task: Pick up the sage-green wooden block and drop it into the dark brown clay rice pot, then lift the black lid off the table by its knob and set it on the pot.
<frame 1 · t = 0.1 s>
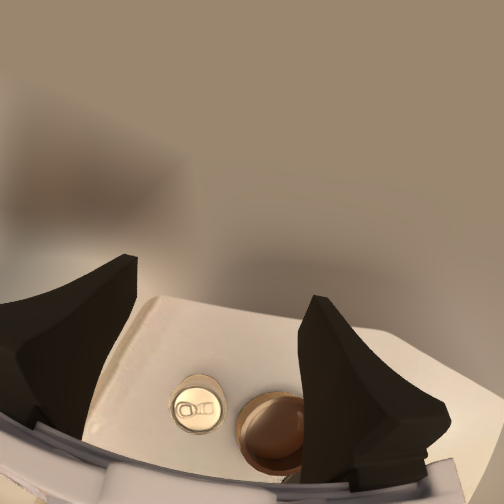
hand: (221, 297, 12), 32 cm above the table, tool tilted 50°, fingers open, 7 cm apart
can: (200, 395, 39), on the table
pot: (275, 428, 38), on the table
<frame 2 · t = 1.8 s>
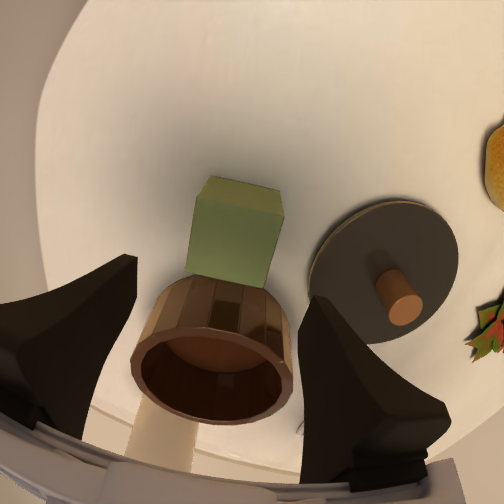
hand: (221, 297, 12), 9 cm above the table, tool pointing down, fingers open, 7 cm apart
lid: (388, 280, 21), point 1 cm above the table
block: (238, 214, 20), on the table
lily flower: (501, 318, 24), on the table
can: (174, 394, 30), on the table
pot: (218, 331, 25), on the table
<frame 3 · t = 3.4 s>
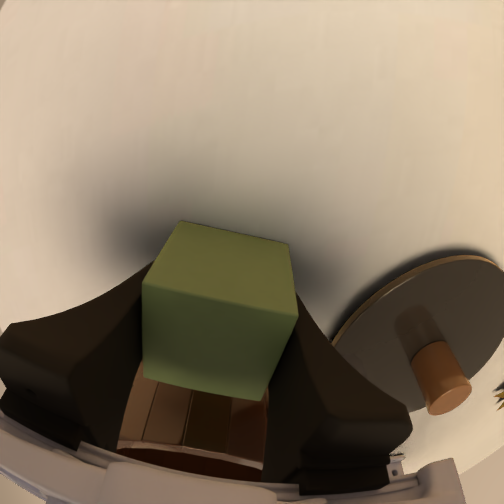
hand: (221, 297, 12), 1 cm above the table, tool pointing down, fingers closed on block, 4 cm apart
lid: (427, 350, 14), point 1 cm above the table
block: (223, 277, 13), on the table, touching gripper
pot: (206, 406, 18), on the table
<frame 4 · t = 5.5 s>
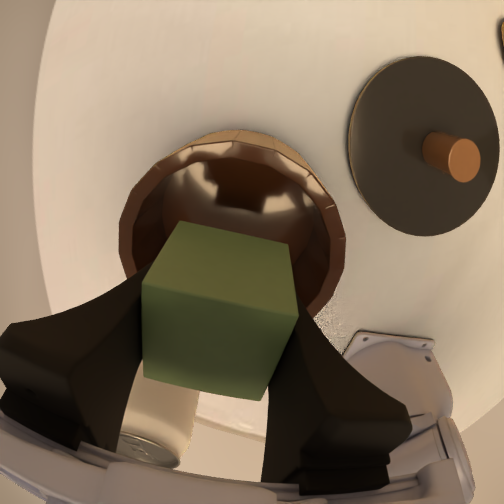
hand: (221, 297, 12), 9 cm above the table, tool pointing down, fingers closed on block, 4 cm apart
lid: (433, 148, 16), point 1 cm above the table
block: (223, 277, 13), point 8 cm above the table, touching gripper
can: (174, 329, 25), on the table
pot: (237, 217, 20), on the table
when the fingers open (3 cm above the table, at t = 7.7 s): block drops 2 cm, resting on pot.
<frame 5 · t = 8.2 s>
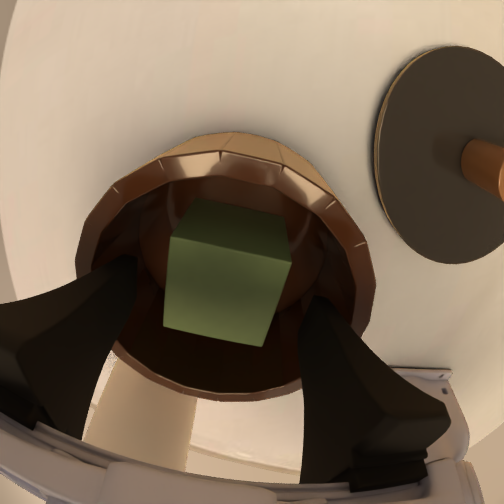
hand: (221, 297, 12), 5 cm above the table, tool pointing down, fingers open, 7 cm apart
lid: (472, 159, 12), point 1 cm above the table
block: (230, 246, 16), resting on pot
can: (161, 363, 21), on the table
pot: (231, 242, 16), on the table
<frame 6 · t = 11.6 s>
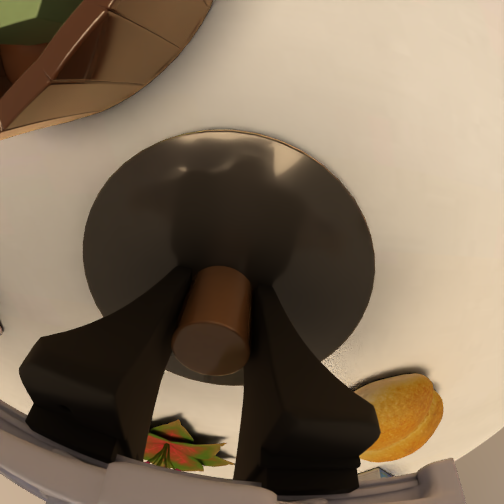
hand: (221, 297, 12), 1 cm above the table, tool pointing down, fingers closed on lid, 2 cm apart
lid: (222, 285, 13), point 1 cm above the table, touching gripper
bread roll: (384, 404, 18), on the table
lily flower: (168, 440, 22), on the table
medicine box: (370, 476, 27), on the table
when the fingers open (7 cm above the table, at t = 15.2 s): lid stays where it is, resting on pot.
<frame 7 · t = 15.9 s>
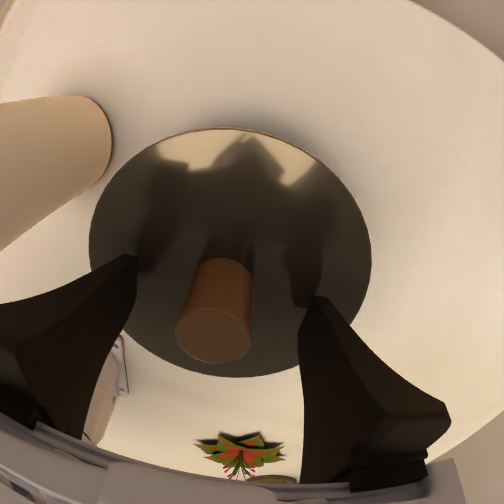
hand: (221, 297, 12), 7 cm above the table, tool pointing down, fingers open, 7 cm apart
lid: (224, 277, 13), point 6 cm above the table, touching pot
lily flower: (241, 448, 33), on the table
can: (74, 142, 16), on the table
thermos: (271, 481, 40), on the table
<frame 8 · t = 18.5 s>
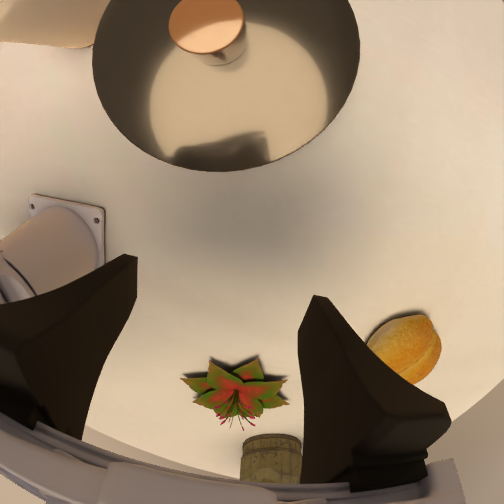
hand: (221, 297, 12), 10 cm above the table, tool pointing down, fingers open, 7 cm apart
lid: (219, 41, 11), point 6 cm above the table, touching pot
bread roll: (399, 343, 27), on the table
lily flower: (237, 387, 31), on the table
can: (91, 11, 14), on the table
thermos: (272, 444, 38), on the table
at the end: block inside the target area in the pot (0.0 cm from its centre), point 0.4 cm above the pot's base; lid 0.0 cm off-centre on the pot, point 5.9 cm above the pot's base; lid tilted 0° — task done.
